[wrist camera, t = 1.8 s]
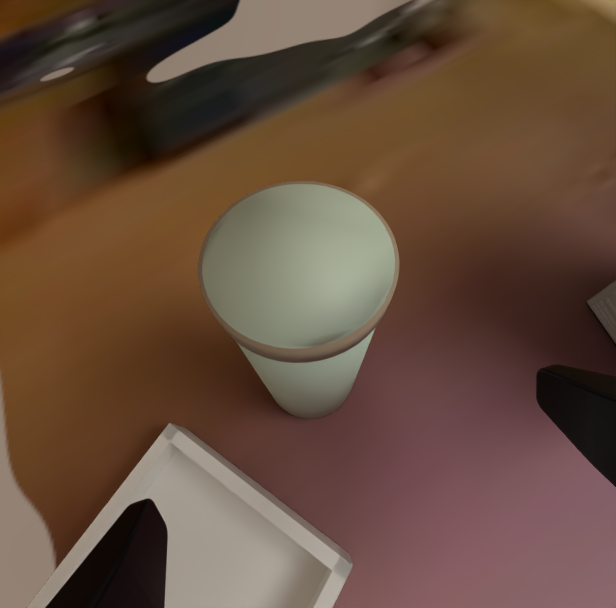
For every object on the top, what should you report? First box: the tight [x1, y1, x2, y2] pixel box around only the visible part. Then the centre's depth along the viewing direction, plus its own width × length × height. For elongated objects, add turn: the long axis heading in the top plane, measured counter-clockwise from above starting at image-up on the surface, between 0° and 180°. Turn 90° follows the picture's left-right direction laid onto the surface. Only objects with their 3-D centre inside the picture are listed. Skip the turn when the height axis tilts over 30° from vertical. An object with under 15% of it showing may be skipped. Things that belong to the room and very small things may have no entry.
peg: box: [198, 181, 399, 419], centre depth 14 cm, size 5×5×12 cm
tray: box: [27, 423, 353, 608], centre depth 15 cm, size 9×10×2 cm
